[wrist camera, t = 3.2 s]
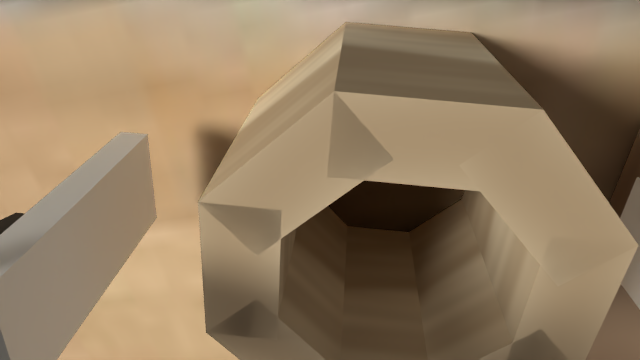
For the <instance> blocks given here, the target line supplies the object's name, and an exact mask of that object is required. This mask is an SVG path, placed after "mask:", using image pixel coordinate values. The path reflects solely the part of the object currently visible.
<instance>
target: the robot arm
mask: <svg viewBox="0 0 640 360" xmlns="http://www.w3.org/2000/svg"><path fill="white" fill-rule="evenodd" d="M156 218H157V217H156V208H155V199H154V189H153V180H152V171H151V162H150V152H149V143H148V134H139V133H127V132H120V133H119V134H118V135H117V136H115V137H114V138H113V139H112V140H111V141H110V142H108V143H107V144H106V145H105V146H104V147H103V148H101V149H100V150H99V151H98V152H97V153H95V154H94V155H93V156H92V157H91V158H90V159H88V160H87V161H86V162H85V163H84V164H83V165H81V166H80V167H79V168H78V169H77V170H76V171H74V172H73V173H72V174H71V175H70V176H69V177H67V178H66V179H65V180H64V181H63V182H61V183H60V184H59V185H58V186H57V187H56V188H54V189H53V190H52V191H51V192H50V193H49V194H47V195H46V196H45V197H44V198H43V199H42V200H40V201H39V202H38V203H37V204H36V205H35V206H33V207H32V208H31V209H30V210H29V211H27V212H26V213H25V214H23V213H15V214H12V215H10V216H8V217H6V218H4V219H2V220H0V360H57V359H58V357H59V356H60V354H61V353H62V351H63V350H64V349H65V347H66V346H67V344H68V343H69V341H70V340H71V339H72V337H73V336H74V334H75V333H76V332H77V330H78V329H79V327H80V326H81V324H82V323H83V322H84V320H85V319H86V317H87V316H88V314H89V313H90V312H91V310H92V309H93V307H94V306H95V304H96V303H97V302H98V300H99V299H100V297H101V296H102V295H103V293H104V292H105V290H106V289H107V287H108V286H109V285H110V283H111V282H112V280H113V279H114V277H115V276H116V275H117V273H118V272H119V270H120V269H121V267H122V266H123V265H124V263H125V262H126V260H127V259H128V258H129V256H130V255H131V253H132V252H133V250H134V249H135V248H136V246H137V245H138V243H139V242H140V240H141V239H142V238H143V236H144V235H145V233H146V232H147V230H148V229H149V228H150V226H151V225H152V223H153V222H154V221H155V219H156ZM620 219H621V221H622V222H623V224H624V225H625V226H626V228H627V229H628V231H629V232H630V234H631V235H632V236H633V238H634V239H635V241H636V242H637V244H638V245H639V246H638V248H637V250H636V252H635V254H634V257H633V259H632V261H631V263H630V265H629V267H628V269H627V272H626V274H625V276H624V278H623V280H622V282H621V285H622V286H623V288H624V289H625V290H626V292H627V293H628V294H629V296H630V297H631V298H632V300H633V301H634V303H635V304H636V305H637V307H638V308H639V309H640V178H639V177H637V178H636V180H635V183H634V185H633V188H632V190H631V193H630V195H629V197H628V200H627V202H626V205H625V207H624V210H623V212H622V215H621V217H620Z"/></svg>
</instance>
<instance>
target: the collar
mask: <svg viewBox="0 0 640 360" xmlns="http://www.w3.org/2000/svg"><path fill="white" fill-rule="evenodd" d="M364 180H366V181H376V182H387V183H397V184H408V185H418V186H429V187H439V188H450V189H460V190H464V193H463V197H462V199H461V200H459V201H458V202H456V203H455V204H453V205H452V206H450V207H448V208H447V209H445V210H444V211H442V212H440V213H439V214H437V215H436V216H434V217H432V218H431V219H429V220H428V221H426V222H425V223H423V224H421V225H420V226H418V227H417V228H415V229H413V230H412V231H410V232H402V231H392V230H382V229H372V228H362V227H351V226H347V225H346V224H345V223H344V222H343V221H342V220H341V219H340V218H339V217H338V216H337V215H336V214H335V213H334V212H333V211H332V210H331V209H330V208H329V207H328V205H330V204H331V203H333V202H334V201H335V200H337V199H338V198H340V197H341V196H342V195H344V194H345V193H347V192H348V191H350V190H351V189H352V188H354V187H355V186H357V185H358V184H360V183H361V182H362V181H364ZM198 211H199V227H200V243H201V259H202V275H203V291H204V307H205V323H206V333H208V334H209V335H210V336H211V337H213V338H214V339H215V340H216V341H217V342H219V343H220V344H221V345H222V346H224V347H225V348H226V349H227V350H229V351H230V352H231V353H232V354H234V355H235V356H236V357H237V358H239V359H240V360H586V357H587V355H588V353H589V351H590V349H591V347H592V345H593V342H594V340H595V338H596V336H597V334H598V332H599V330H600V327H601V325H602V323H603V321H604V319H605V317H606V314H607V312H608V310H609V308H610V306H611V304H612V302H613V299H614V297H615V295H616V293H617V291H618V289H619V287H620V284H621V282H622V280H623V278H624V276H625V274H626V272H627V269H628V267H629V265H630V263H631V261H632V259H633V257H634V254H635V252H636V250H637V248H638V246H639V245H638V244H637V242H636V241H635V239H634V238H633V236H632V235H631V234H630V232H629V231H628V229H627V228H626V226H625V225H624V224H623V222H622V221H621V219H620V218H619V217H618V215H617V214H616V212H615V211H614V209H613V208H612V207H611V205H610V204H609V202H608V201H607V199H606V198H605V197H604V195H603V194H602V192H601V191H600V189H599V188H598V187H597V185H596V184H595V182H594V181H593V179H592V178H591V177H590V175H589V174H588V172H587V171H586V170H585V168H584V167H583V165H582V164H581V162H580V161H579V160H578V158H577V157H576V155H575V154H574V152H573V151H572V150H571V148H570V147H569V145H568V144H567V142H566V141H565V140H564V138H563V137H562V135H561V134H560V132H559V131H558V130H557V128H556V127H555V125H554V124H553V123H552V121H551V120H550V118H549V117H548V115H547V114H546V113H545V111H544V110H543V108H542V107H541V106H540V105H539V104H538V103H537V102H536V101H535V100H534V99H533V98H532V97H531V96H530V95H529V94H528V93H527V91H526V90H525V89H524V88H523V87H522V86H521V85H520V84H519V83H518V82H517V81H516V80H515V79H514V78H513V77H512V75H511V74H510V73H509V72H508V71H507V70H506V69H505V68H504V67H503V66H502V65H501V64H500V63H499V62H498V61H497V59H496V58H495V57H494V56H493V55H492V54H491V53H490V52H489V51H488V50H487V49H486V48H485V47H484V46H483V45H482V43H481V42H480V41H479V40H478V39H477V38H476V37H475V36H474V35H473V34H472V33H469V32H457V31H445V30H433V29H421V28H409V27H397V26H385V25H374V24H362V23H350V22H345V23H344V24H343V25H342V26H341V27H340V28H338V29H337V30H336V31H335V32H334V33H333V34H332V35H330V36H329V37H328V38H327V39H326V40H325V41H324V42H322V43H321V44H320V45H319V46H318V47H317V48H316V49H314V50H313V51H312V52H311V53H310V54H309V55H307V56H306V57H305V58H304V59H303V60H302V61H301V62H299V63H298V64H297V65H296V66H295V67H294V68H293V69H291V70H290V71H289V72H288V73H287V74H286V75H284V76H283V77H282V78H281V79H280V80H279V81H278V82H276V83H275V84H274V85H273V86H272V87H271V88H270V89H268V90H267V91H266V92H265V93H264V94H263V95H262V96H260V97H259V98H258V99H257V101H256V103H255V104H254V106H253V108H252V110H251V111H250V113H249V115H248V116H247V118H246V120H245V122H244V123H243V125H242V127H241V129H240V130H239V132H238V134H237V135H236V137H235V139H234V141H233V142H232V144H231V146H230V147H229V149H228V151H227V153H226V154H225V156H224V158H223V160H222V161H221V163H220V165H219V166H218V168H217V170H216V172H215V173H214V175H213V177H212V179H211V180H210V182H209V184H208V185H207V187H206V189H205V191H204V192H203V194H202V196H201V197H200V199H199V201H198Z"/></svg>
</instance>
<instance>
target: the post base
mask: <svg viewBox="0 0 640 360" xmlns="http://www.w3.org/2000/svg"><path fill="white" fill-rule="evenodd" d="M637 177H639V178H640V129H639V132H638V134H637V137H636V139H635V141H634V144H633V146H632V149H631V151H630V154H629V156H628V159H627V161H626V163H625V166H624V168H623V171H622V173H621V176H620V178H619V181H618V183H617V185H616V188H615V190H614V193H613V195H612V198H611V200H610V203H609V204H610V205H611V207H612V208H613V209H614V211H615V212H616V214H617V215H618V217H619V218H620V217H621V215H622V212H623V210H624V207H625V205H626V202H627V200H628V197H629V195H630V193H631V190H632V188H633V185H634V183H635V180H636V178H637ZM586 360H640V309H639V308H638V307H637V305H636V304H635V303H634V301H633V300H632V298H631V297H630V296H629V294H628V293H627V292H626V290H625V289H624V288H623V286H622V285H621V284H620V287H619V289H618V291H617V293H616V295H615V297H614V299H613V302H612V304H611V306H610V308H609V310H608V312H607V314H606V317H605V319H604V321H603V323H602V325H601V327H600V330H599V332H598V334H597V336H596V338H595V340H594V342H593V345H592V347H591V349H590V351H589V353H588V355H587V357H586Z"/></svg>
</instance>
